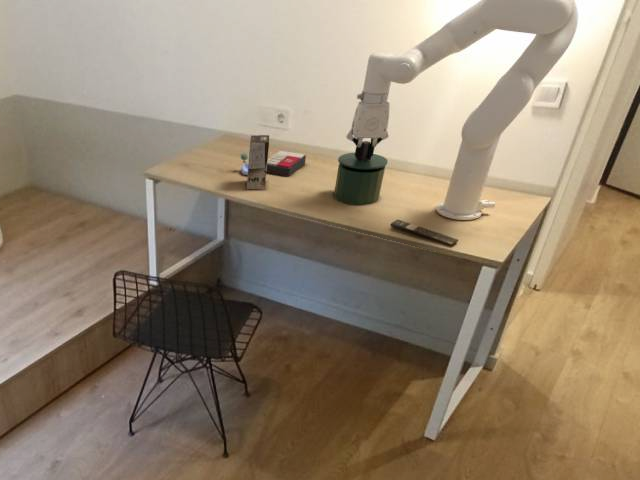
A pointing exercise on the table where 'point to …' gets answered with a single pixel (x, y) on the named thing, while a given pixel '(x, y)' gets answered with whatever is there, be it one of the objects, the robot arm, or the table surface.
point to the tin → (358, 185)
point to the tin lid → (363, 159)
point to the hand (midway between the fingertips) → (363, 158)
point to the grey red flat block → (285, 163)
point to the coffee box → (258, 161)
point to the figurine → (245, 167)
